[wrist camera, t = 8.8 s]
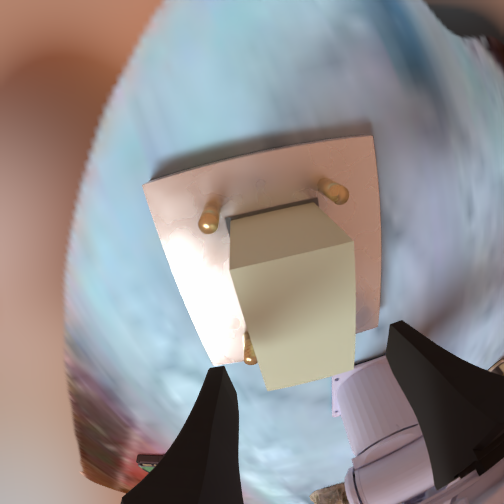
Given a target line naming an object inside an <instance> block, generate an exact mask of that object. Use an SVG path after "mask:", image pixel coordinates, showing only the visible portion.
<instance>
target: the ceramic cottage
mask: <svg viewBox="0 0 504 504" xmlns="http://www.w3.org/2000/svg"><path fill="white" fill-rule="evenodd" d="M310 499H311V501H313V502H314V504H349V501H348V498H347V495H346V491H345V484H338V485H335V486H331V487H328V488H322V489H319V490H317V491H314V492H313V493H312V494H311V495H310Z"/></svg>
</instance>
